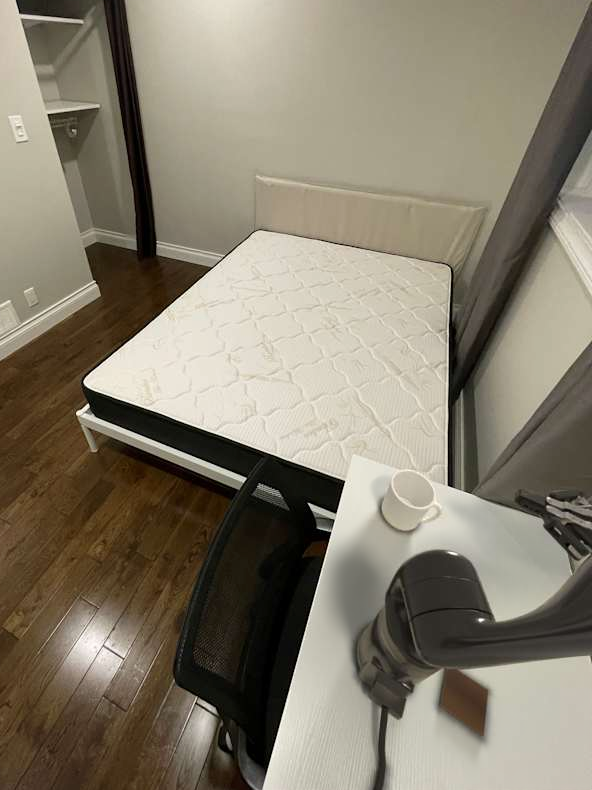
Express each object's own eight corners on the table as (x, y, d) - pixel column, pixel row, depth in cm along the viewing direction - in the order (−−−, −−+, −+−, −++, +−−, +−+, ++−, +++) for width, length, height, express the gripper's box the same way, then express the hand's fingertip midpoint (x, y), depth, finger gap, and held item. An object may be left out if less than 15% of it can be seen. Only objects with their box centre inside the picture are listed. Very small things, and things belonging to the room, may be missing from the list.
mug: (372, 515, 81) (383, 490, 75) (389, 487, 86) (401, 461, 80) (421, 549, 76) (438, 525, 69) (435, 517, 81) (452, 492, 75)
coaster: (481, 736, 55) (483, 735, 54) (439, 706, 57) (441, 705, 57) (485, 691, 59) (488, 690, 58) (446, 665, 61) (448, 663, 61)
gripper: (656, 505, 57) (529, 454, 64) (674, 585, 48) (525, 515, 56) (624, 528, 62) (509, 478, 69) (636, 604, 53) (503, 538, 60)
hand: (516, 495), depth 62 cm, fingers closed
